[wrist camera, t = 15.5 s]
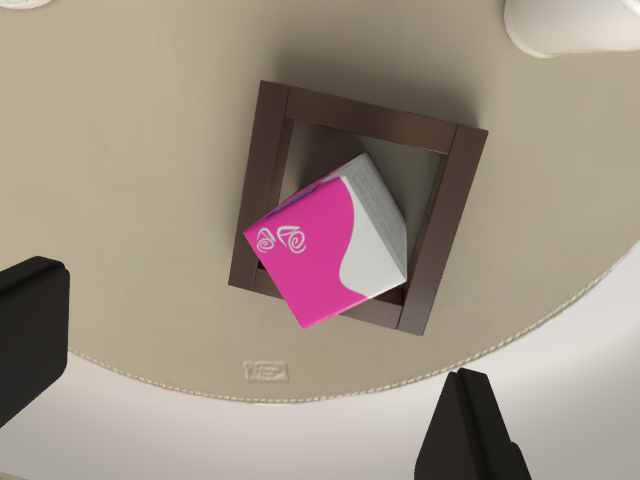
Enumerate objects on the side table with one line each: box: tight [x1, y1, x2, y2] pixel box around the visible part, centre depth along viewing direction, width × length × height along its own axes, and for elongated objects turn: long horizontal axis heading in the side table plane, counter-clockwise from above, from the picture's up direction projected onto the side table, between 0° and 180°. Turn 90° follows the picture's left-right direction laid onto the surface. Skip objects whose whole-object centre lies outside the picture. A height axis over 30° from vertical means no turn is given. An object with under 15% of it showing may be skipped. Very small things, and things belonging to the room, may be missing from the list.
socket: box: [228, 80, 488, 336], centre depth 30 cm, size 14×14×3 cm
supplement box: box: [244, 152, 407, 329], centre depth 26 cm, size 6×6×12 cm
